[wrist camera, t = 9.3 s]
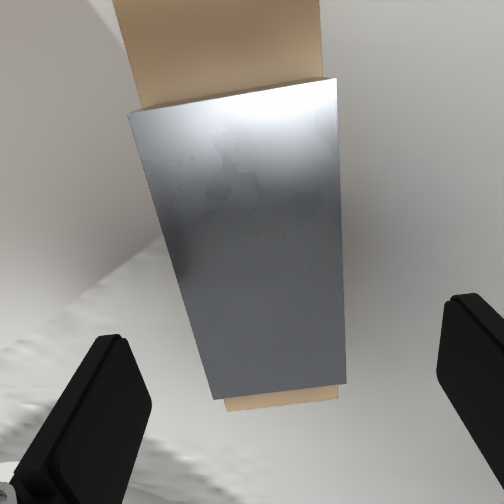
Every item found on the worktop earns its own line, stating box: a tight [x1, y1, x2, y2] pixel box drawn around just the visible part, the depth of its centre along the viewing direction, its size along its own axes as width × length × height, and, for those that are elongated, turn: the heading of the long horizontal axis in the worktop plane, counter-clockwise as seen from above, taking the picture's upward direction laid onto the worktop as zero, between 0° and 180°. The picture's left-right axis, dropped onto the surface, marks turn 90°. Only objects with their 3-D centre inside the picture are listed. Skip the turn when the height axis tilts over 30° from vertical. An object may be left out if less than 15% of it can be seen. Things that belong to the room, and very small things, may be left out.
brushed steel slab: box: [127, 77, 347, 400], centre depth 16 cm, size 13×6×6 cm, turn 9°
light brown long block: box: [112, 0, 338, 412], centre depth 18 cm, size 24×7×4 cm, turn 9°
